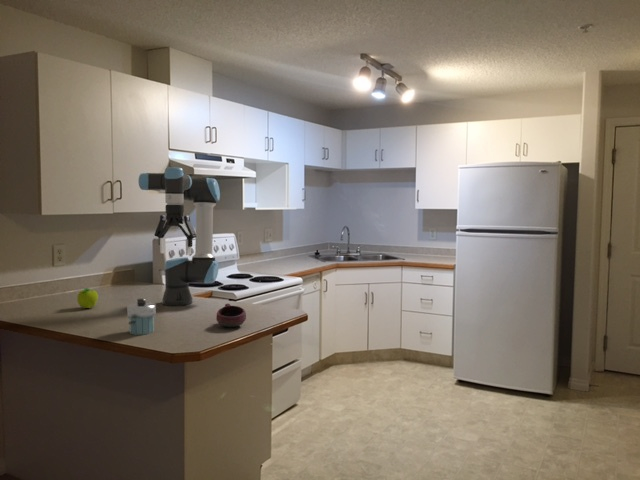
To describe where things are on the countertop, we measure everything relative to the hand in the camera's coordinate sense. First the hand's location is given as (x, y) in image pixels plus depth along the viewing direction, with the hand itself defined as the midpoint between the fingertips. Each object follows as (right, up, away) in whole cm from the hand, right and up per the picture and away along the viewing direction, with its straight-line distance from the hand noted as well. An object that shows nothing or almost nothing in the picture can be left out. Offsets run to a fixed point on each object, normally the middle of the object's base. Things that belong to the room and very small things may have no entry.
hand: (175, 253), depth 228 cm
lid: (-11, -25, -10) cm, 29 cm away
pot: (-11, -32, -10) cm, 35 cm away
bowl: (+23, -31, +1) cm, 39 cm away
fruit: (-52, -28, +34) cm, 68 cm away
